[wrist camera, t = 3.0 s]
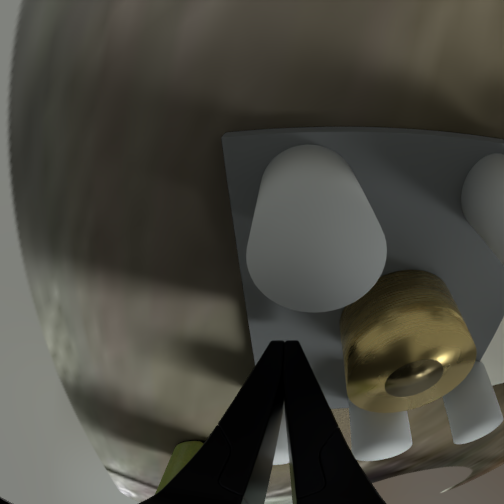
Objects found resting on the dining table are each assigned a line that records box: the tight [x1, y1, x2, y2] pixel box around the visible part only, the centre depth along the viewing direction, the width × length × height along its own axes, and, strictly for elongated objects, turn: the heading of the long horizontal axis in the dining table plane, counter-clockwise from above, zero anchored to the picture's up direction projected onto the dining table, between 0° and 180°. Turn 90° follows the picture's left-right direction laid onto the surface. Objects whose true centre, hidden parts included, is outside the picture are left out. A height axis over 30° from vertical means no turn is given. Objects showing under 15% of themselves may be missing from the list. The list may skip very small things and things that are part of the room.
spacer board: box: [221, 127, 504, 465], centre depth 9 cm, size 15×12×4 cm
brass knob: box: [340, 270, 477, 413], centre depth 9 cm, size 4×4×3 cm
